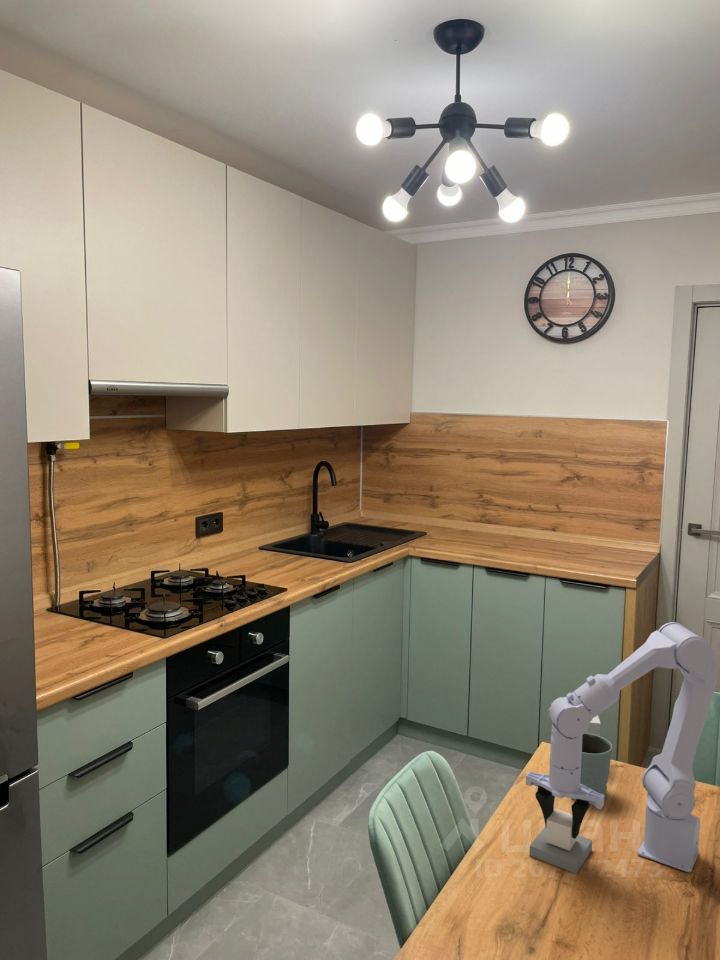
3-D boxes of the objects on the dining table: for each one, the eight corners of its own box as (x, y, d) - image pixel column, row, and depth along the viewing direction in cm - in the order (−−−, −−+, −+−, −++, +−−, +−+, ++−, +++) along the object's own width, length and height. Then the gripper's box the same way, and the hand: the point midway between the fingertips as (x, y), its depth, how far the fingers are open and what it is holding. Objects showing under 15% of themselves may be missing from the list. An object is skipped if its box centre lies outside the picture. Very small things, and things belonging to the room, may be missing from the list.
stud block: (591, 849, 140) (592, 830, 139) (576, 873, 132) (577, 853, 132) (546, 833, 145) (547, 814, 144) (529, 855, 137) (530, 835, 137)
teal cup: (607, 786, 164) (610, 735, 162) (611, 810, 154) (615, 756, 153) (560, 780, 166) (563, 729, 165) (562, 803, 156) (565, 750, 155)
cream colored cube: (577, 838, 139) (578, 816, 138) (569, 850, 135) (570, 828, 135) (554, 830, 142) (555, 808, 141) (545, 841, 138) (546, 819, 137)
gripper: (520, 759, 138) (517, 827, 139) (597, 783, 129) (593, 855, 131) (534, 745, 143) (531, 811, 145) (609, 767, 135) (605, 836, 136)
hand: (561, 830), depth 138 cm, fingers closed on cream colored cube, 4 cm apart
